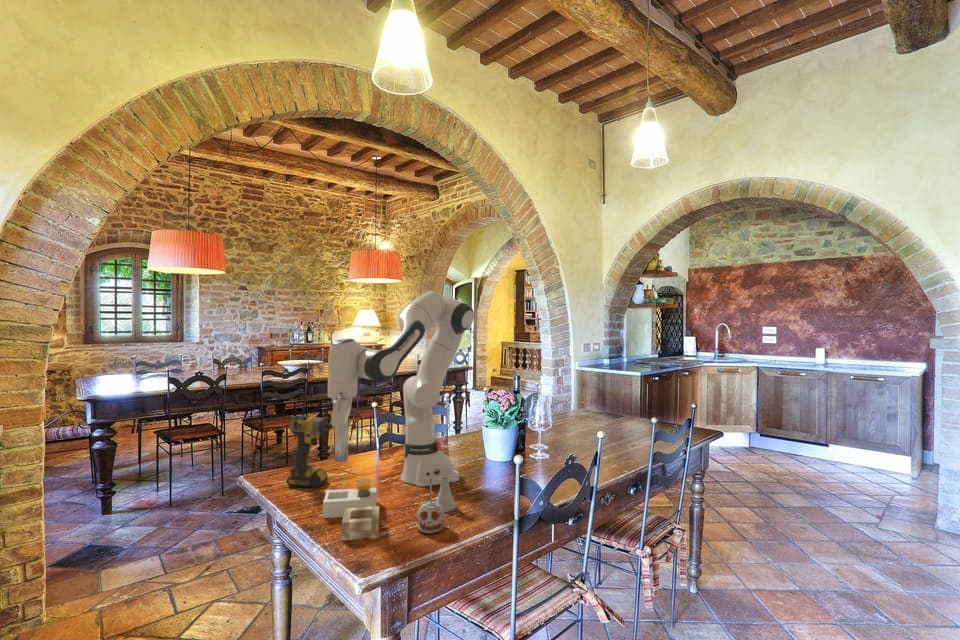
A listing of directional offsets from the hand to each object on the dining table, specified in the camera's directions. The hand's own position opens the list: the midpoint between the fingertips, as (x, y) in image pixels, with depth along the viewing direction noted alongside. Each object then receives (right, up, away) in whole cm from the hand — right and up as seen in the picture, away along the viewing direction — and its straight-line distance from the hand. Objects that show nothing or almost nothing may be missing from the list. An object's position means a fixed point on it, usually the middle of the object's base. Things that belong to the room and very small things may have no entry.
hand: (341, 434), depth 148 cm
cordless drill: (-18, -25, +26) cm, 40 cm away
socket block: (+2, -25, +3) cm, 26 cm away
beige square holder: (+9, -25, -11) cm, 29 cm away
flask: (+32, -26, +5) cm, 41 cm away
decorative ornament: (+29, -26, -9) cm, 40 cm away
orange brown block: (+6, -24, +4) cm, 25 cm away
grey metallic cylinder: (0, -8, 0) cm, 8 cm away
